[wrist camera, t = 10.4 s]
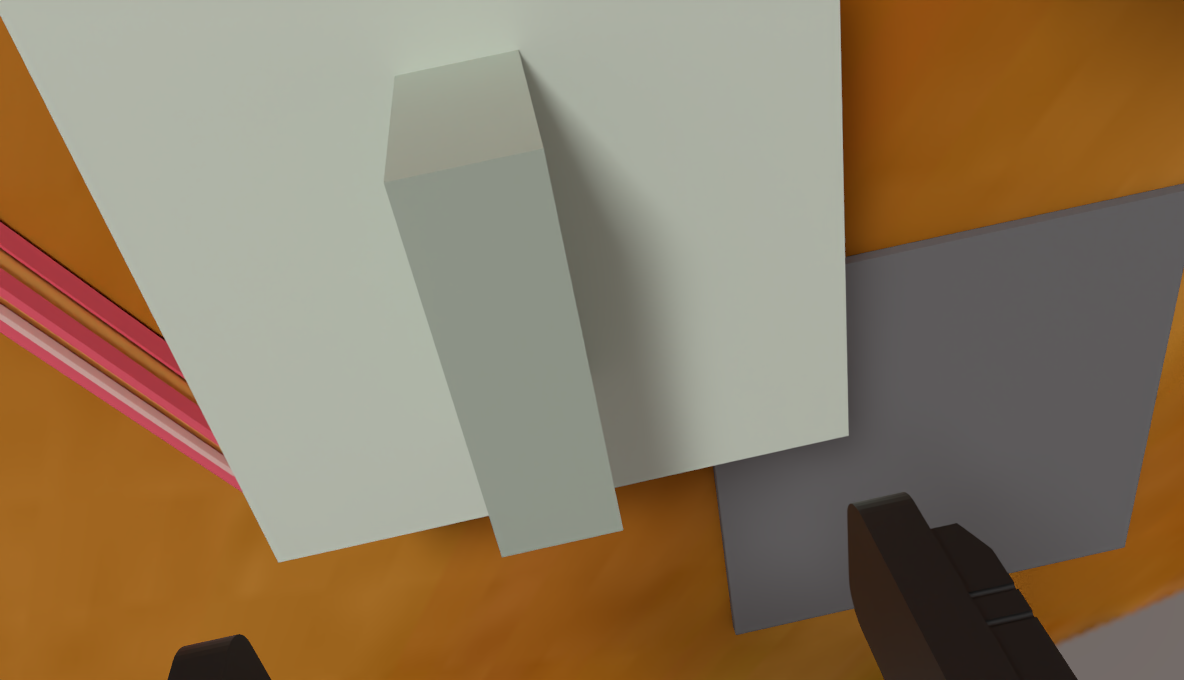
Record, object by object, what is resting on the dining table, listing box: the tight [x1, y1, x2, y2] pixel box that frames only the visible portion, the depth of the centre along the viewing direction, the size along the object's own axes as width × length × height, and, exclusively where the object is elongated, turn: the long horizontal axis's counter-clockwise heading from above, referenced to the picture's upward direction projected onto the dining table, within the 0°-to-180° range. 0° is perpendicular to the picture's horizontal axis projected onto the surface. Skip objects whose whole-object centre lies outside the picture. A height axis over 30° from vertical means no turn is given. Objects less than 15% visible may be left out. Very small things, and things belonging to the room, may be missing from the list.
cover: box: [0, 0, 849, 562], centre depth 19 cm, size 15×15×6 cm
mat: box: [713, 184, 1184, 635], centre depth 34 cm, size 16×16×1 cm
